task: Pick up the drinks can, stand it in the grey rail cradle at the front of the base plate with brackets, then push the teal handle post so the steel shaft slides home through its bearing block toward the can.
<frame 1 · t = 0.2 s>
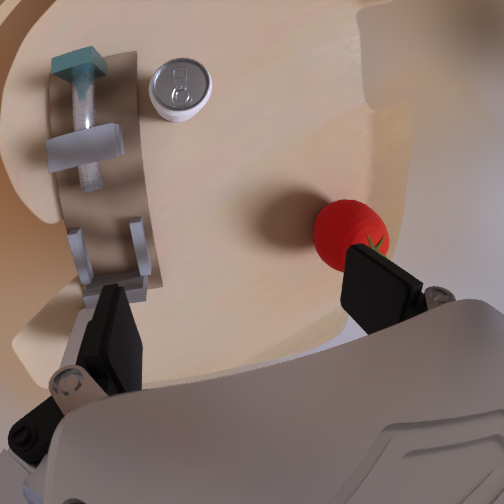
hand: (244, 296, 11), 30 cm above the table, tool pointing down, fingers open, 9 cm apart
base plate with brackets: (100, 180, 34), on the table
milk carton: (105, 316, 42), on the table
can: (178, 100, 33), on the table
shaft: (82, 123, 25), point 6 cm above the table, slide at 0.0 cm
tomato: (327, 223, 47), on the table
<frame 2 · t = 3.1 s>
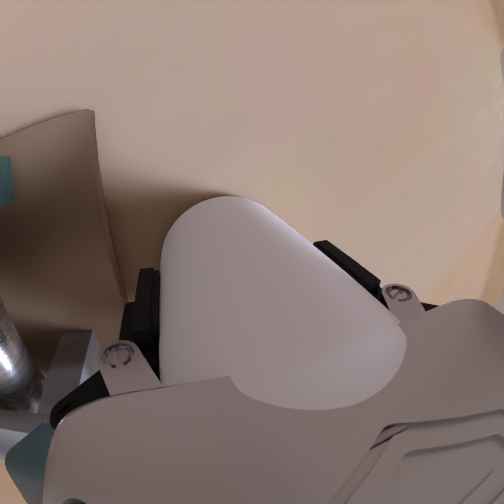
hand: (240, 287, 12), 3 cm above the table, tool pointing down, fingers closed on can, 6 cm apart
base plate with brackets: (81, 396, 15), on the table
can: (223, 254, 14), on the table, touching gripper
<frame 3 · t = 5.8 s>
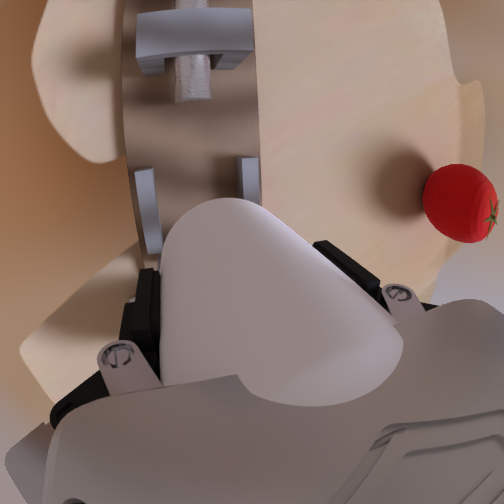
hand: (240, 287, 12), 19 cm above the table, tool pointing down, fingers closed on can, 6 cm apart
base plate with brackets: (189, 101, 24), on the table
can: (223, 256, 14), point 15 cm above the table, touching gripper
shaft: (192, 10, 16), point 6 cm above the table, slide at 0.0 cm
tomato: (429, 192, 37), on the table
when the fingers open (6 cm above the table, at t = 8.7 s): can drops 1 cm, resting on base plate with brackets.
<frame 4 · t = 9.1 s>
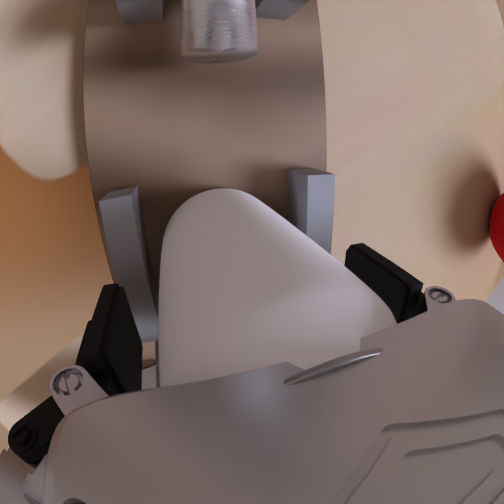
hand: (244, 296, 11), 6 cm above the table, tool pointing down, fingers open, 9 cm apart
base plate with brackets: (205, 69, 13), on the table
milk carton: (175, 386, 21), on the table
can: (219, 242, 16), point 1 cm above the table, touching base plate with brackets
tomato: (493, 215, 26), on the table
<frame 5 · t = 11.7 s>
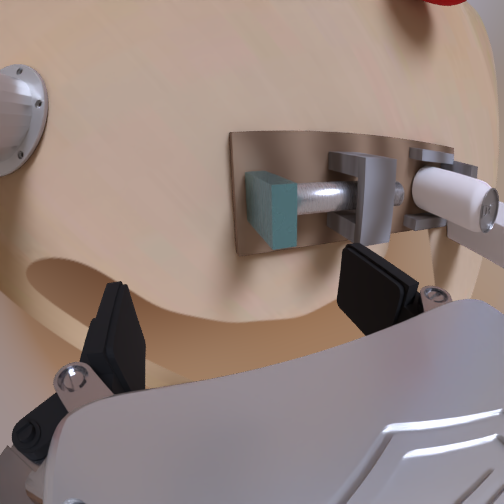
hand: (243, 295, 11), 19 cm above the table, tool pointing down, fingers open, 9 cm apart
base plate with brackets: (369, 185, 33), on the table
milk carton: (455, 212, 40), on the table
can: (423, 186, 34), point 1 cm above the table, touching base plate with brackets
shaft: (341, 198, 26), point 6 cm above the table, slide at 0.0 cm
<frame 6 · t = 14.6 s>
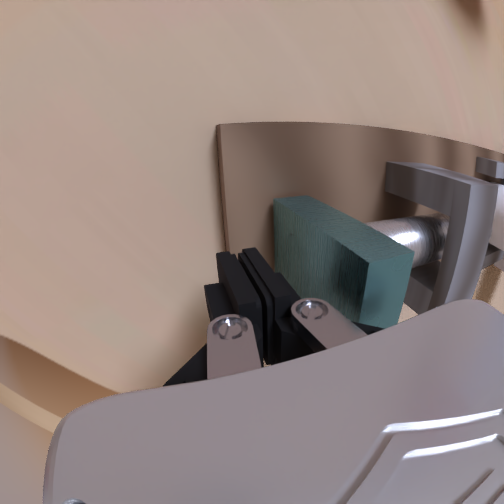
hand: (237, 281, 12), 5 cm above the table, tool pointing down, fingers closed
base plate with brackets: (429, 211, 20), on the table
milk carton: (503, 234, 28), on the table
can: (484, 208, 22), point 1 cm above the table, touching base plate with brackets
shaft: (431, 246, 14), point 6 cm above the table, slide at 1.4 cm, touching gripper
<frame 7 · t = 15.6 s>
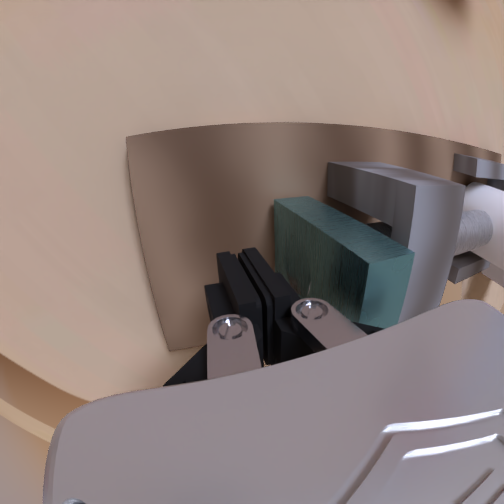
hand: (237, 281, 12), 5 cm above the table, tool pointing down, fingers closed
base plate with brackets: (394, 216, 19), on the table
milk carton: (493, 239, 27), on the table
can: (466, 212, 21), point 1 cm above the table, touching base plate with brackets
shaft: (431, 247, 14), point 6 cm above the table, slide at 6.1 cm, touching gripper
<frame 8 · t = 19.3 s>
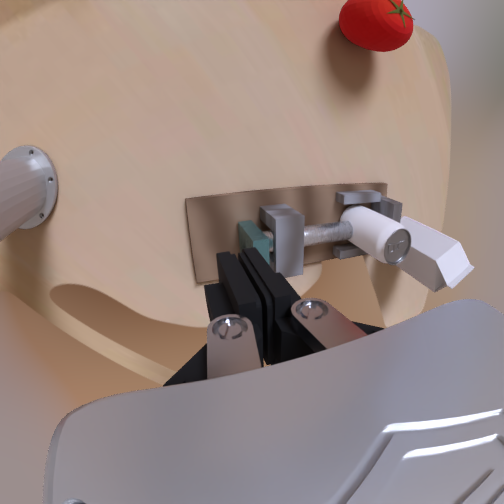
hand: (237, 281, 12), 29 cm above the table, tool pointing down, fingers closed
base plate with brackets: (299, 225, 45), on the table
milk carton: (394, 236, 53), on the table
can: (352, 221, 47), point 1 cm above the table, touching base plate with brackets
shaft: (303, 239, 40), point 6 cm above the table, slide at 6.0 cm
tomato: (352, 30, 34), on the table
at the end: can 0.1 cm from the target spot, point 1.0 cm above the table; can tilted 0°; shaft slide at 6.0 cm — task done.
